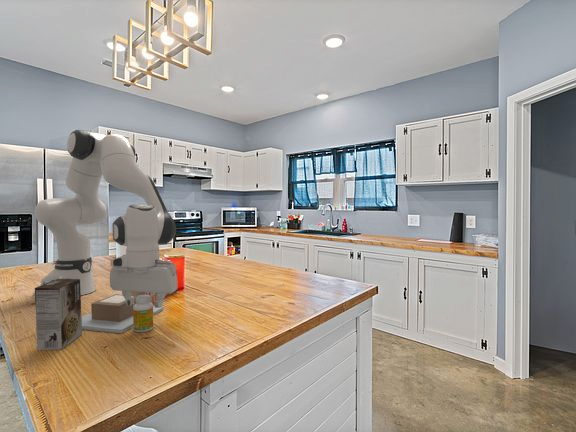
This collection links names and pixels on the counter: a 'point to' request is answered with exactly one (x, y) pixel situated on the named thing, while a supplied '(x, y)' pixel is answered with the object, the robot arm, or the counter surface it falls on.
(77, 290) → the coffee box
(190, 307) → the counter surface
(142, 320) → the supplement bottle
